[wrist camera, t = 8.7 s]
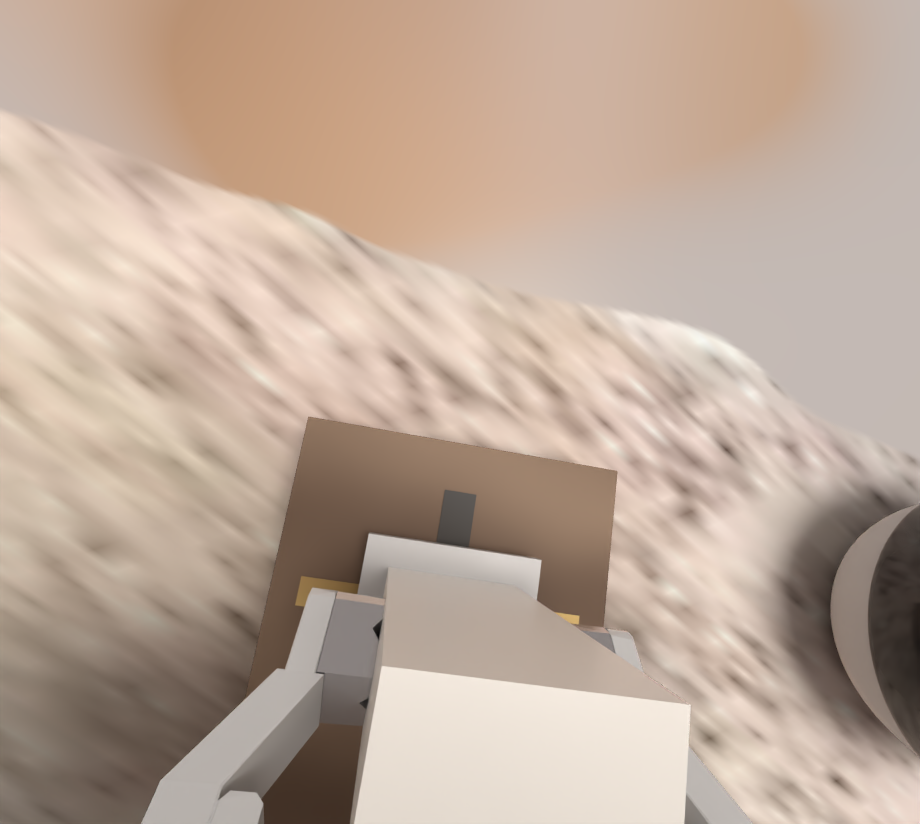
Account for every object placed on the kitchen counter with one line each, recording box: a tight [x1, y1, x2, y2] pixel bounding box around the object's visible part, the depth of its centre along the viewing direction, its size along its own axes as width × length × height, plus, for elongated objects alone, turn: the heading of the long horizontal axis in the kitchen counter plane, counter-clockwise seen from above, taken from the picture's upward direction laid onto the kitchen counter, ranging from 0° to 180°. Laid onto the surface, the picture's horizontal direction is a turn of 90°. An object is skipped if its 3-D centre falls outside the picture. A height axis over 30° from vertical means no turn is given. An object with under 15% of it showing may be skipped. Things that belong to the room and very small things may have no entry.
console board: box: [245, 417, 617, 824], centre depth 15 cm, size 22×10×3 cm, turn 171°
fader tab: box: [350, 532, 691, 824], centre depth 10 cm, size 4×5×9 cm
